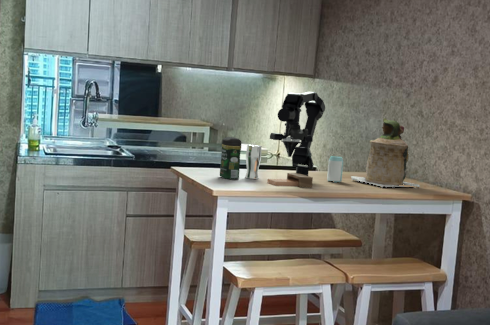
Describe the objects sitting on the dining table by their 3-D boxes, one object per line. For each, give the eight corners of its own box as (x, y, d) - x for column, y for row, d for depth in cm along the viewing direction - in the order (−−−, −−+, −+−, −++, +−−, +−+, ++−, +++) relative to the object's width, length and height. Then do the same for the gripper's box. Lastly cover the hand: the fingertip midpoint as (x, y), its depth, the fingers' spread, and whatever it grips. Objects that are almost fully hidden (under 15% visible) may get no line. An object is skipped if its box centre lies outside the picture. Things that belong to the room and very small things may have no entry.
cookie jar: (382, 188, 307) (389, 119, 304) (348, 180, 328) (354, 115, 325) (421, 188, 320) (428, 121, 317) (386, 180, 341) (392, 118, 338)
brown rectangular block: (286, 182, 301) (287, 172, 300) (298, 182, 303) (299, 173, 303) (299, 187, 289) (300, 177, 288) (311, 187, 291) (312, 177, 291)
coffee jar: (217, 176, 304) (220, 135, 302) (233, 176, 307) (236, 136, 305) (224, 179, 295) (227, 137, 293) (241, 179, 298) (244, 138, 296)
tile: (267, 183, 296) (267, 178, 296) (297, 184, 302) (297, 179, 301) (275, 186, 288) (275, 181, 288) (305, 187, 294) (306, 182, 294)
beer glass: (261, 179, 305) (264, 146, 304) (247, 178, 303) (249, 146, 302) (256, 177, 312) (259, 145, 310) (242, 176, 310) (244, 144, 308)
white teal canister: (324, 181, 318) (326, 156, 317) (331, 180, 324) (333, 155, 323) (337, 183, 314) (339, 157, 313) (344, 182, 320) (346, 157, 319)
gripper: (281, 121, 284) (278, 158, 286) (320, 124, 291) (316, 159, 293) (270, 120, 294) (267, 155, 296) (308, 122, 301) (305, 156, 303)
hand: (289, 156), depth 297 cm, fingers closed
